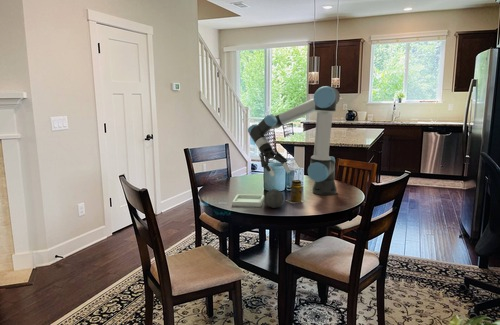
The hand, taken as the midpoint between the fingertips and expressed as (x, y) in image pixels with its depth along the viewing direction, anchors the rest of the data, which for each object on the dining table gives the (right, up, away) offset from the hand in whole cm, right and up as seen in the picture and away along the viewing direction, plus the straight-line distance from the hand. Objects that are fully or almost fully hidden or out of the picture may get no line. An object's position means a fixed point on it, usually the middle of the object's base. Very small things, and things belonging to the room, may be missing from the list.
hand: (281, 173), depth 208 cm
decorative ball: (-5, -18, -17) cm, 25 cm away
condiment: (+7, -16, -5) cm, 18 cm away
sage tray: (-19, -16, -7) cm, 26 cm away
